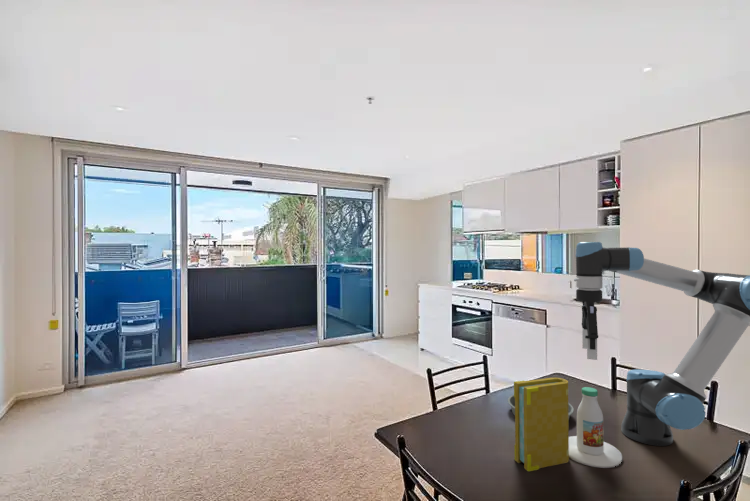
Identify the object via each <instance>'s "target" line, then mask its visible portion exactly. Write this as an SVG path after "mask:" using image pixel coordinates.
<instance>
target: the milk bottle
mask: <svg viewBox="0 0 750 501" xmlns="http://www.w3.org/2000/svg"><path fill="white" fill-rule="evenodd" d="M598 393H599V392H598V390H597V389H596V388H593V387H588V386H584V387H581V396H582V398H581V402H580V403H579V405H578V407H577V410H576V436H577V447H578V449H579V450H580V451H582V452H584V453H586V454H590V455H601V454H602V453H603V451H604V442H605V441H604V439H605V438H604V433H605V432H604V415H603V411H602V409H601V407H600V405H599V402H598V395H599V394H598Z"/></svg>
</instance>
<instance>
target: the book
mask: <svg viewBox="0 0 750 501" xmlns="http://www.w3.org/2000/svg"><path fill="white" fill-rule="evenodd" d="M513 395H514V397H515V415H514V436H515V440H514V442H515V443H514V446H513V447H514V461H515V462H516V463H518V464H521V463H523V464H524V465H523V468H524V469H525V470H526V471H527V472H533V471H537V470H540V469H541V468H542V469H543V468H546V467H552V466H557V465H561V464H566V463H567V464H568V463H569V461H570V458H569V437H570V436H569V434H570V433H569V428H570V427H569V424H570V423H569V420H568V403H569V381H568V380H567V379H565V378H562V377H546V378H539V379H529V380H517V381H513Z"/></svg>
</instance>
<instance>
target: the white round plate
mask: <svg viewBox="0 0 750 501" xmlns="http://www.w3.org/2000/svg"><path fill="white" fill-rule="evenodd" d="M569 460H572V461H574V462H577V463H579V464H581V465H586V466H589V467H592V468H600V469H601V468H602V469H610V468H616V467H619V466H620V465H622V463H623V454H622V452H621V451H620V450H619V449H618V448H617V447H615V446H614V445H612V444H611V443H609V442H605V441H604V451H603V453H602V454H601V455H590V454H586V453H584V452H582V451H580V450H579V449H578V447H577V435H572V436H571V435H570V436H569ZM621 462H622V463H621ZM619 464H620V465H619ZM615 466H616V467H615Z"/></svg>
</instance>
